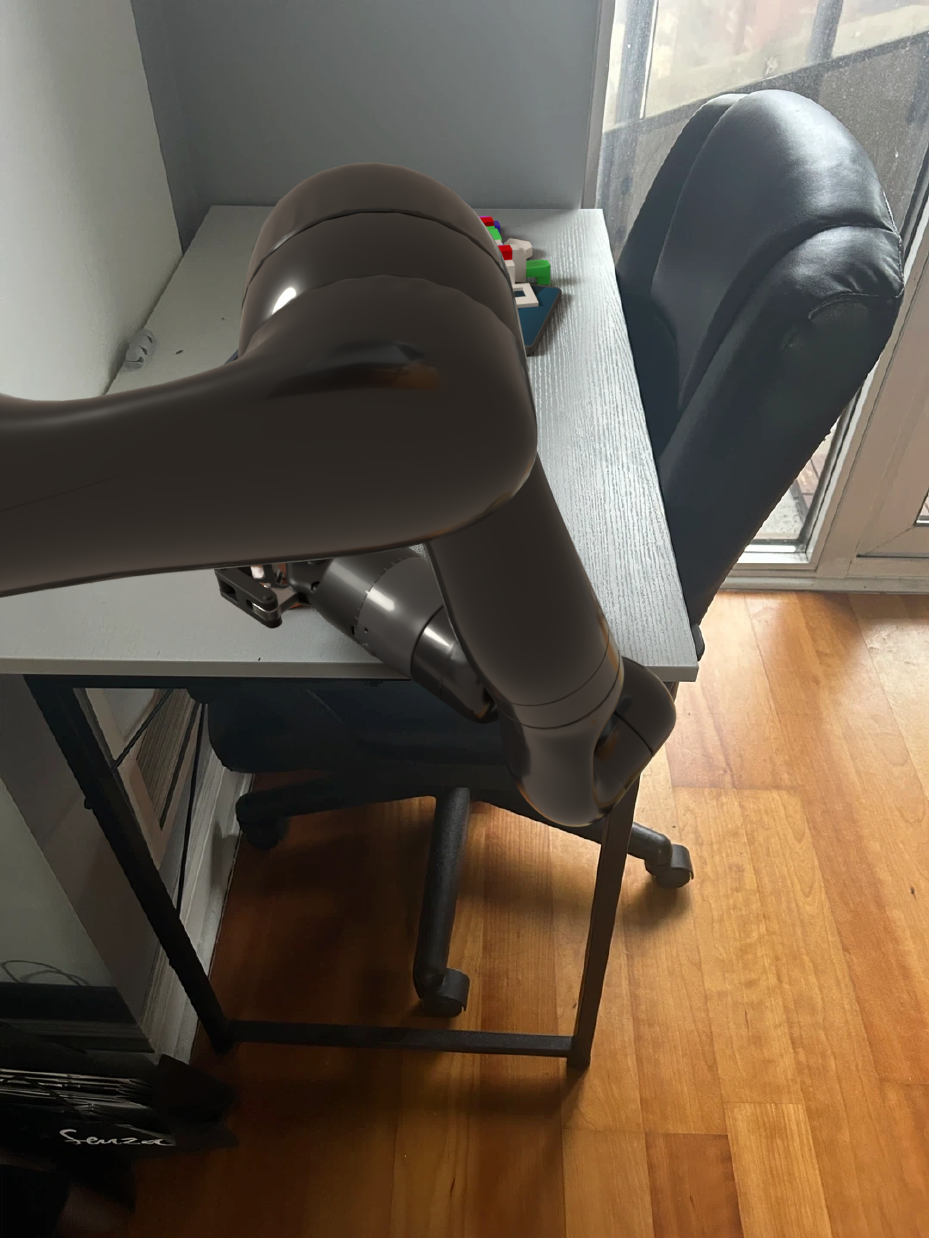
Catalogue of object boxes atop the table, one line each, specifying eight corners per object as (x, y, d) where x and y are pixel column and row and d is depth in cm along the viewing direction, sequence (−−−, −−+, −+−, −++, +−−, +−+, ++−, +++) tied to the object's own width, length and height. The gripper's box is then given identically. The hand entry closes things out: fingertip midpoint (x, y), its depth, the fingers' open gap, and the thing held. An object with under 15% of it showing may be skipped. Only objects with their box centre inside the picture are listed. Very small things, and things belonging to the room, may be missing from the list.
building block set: (366, 238, 124) (363, 203, 121) (519, 225, 126) (520, 190, 123) (385, 326, 106) (382, 288, 103) (563, 309, 108) (565, 271, 105)
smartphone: (465, 347, 103) (465, 339, 102) (502, 286, 113) (502, 279, 112) (532, 356, 101) (533, 348, 100) (563, 294, 111) (564, 286, 111)
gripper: (472, 516, 65) (321, 427, 73) (314, 623, 58) (165, 512, 66) (473, 594, 70) (332, 504, 79) (328, 701, 63) (189, 590, 71)
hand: (256, 508), depth 72 cm, fingers open, 8 cm apart
